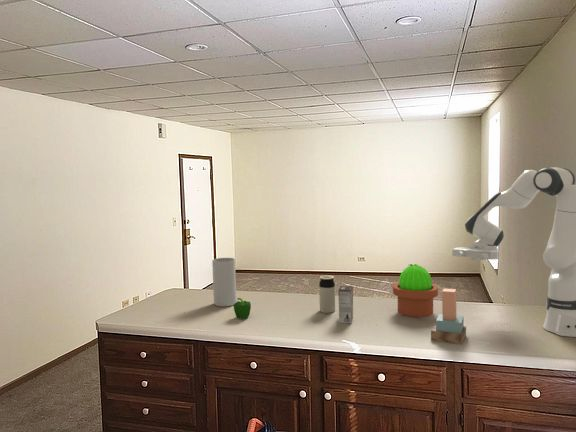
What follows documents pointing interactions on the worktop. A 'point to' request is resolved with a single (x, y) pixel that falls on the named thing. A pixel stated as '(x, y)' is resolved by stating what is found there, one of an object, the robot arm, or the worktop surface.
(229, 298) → the cylinder vase
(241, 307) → the bell pepper
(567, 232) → the robot arm
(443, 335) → the walnut base block
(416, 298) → the potted cactus
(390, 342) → the worktop surface
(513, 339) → the worktop surface
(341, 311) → the coffee box
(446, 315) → the terracotta tall block
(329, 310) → the travel mug
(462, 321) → the grey-teal top block
